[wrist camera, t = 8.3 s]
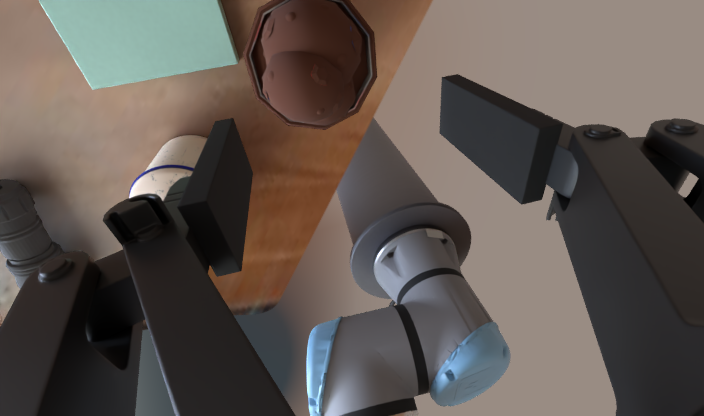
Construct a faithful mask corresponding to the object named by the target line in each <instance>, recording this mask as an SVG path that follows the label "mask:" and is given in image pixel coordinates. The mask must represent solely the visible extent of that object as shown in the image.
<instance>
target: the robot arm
mask: <svg viewBox="0 0 704 416" xmlns="http://www.w3.org/2000/svg"><path fill="white" fill-rule="evenodd" d="M440 134H441V135H442V136H444V137H445V138H446V139H447V140H448V141H449V142H450V143H451V144H453V145H454V146H455V147H456V148H457V149H458V150H459V151H461V152H462V153H463V154H464V155H465V156H466V157H468V158H469V159H470V160H471V161H472V162H473V163H474V164H476V165H477V166H478V167H479V168H480V169H481V170H482V171H484V172H485V173H486V174H487V175H488V176H489V177H490V178H492V179H493V180H494V181H495V182H496V183H497V184H499V185H500V186H501V187H502V188H503V189H504V190H505V191H507V192H508V193H509V194H510V195H511V196H512V197H513V198H514V199H516V200H517V201H518V202H519V203H521V204H526V203H530V202H534V201H538V200H542V197H543V194H544V190H545V187H546V184H547V185H548V186H550V187H551V188H553V189H554V194H553V197H552V200H551V204H550V207H549V210H548V213H547V218H546V219H547V220H550V219H551V216H552V215H553V214H555V213H556V219H555V220H556V221H558V222H559V225H560V228H561V231H562V234H563V237H564V241H565V243H566V247H567V249H568V253H569V255H570V259H571V262H572V265H573V268H574V271H575V274H576V277H577V280H578V283H579V286H580V289H581V292H582V295H583V299H584V301H585V305H586V308H587V311H588V314H589V317H590V320H591V323H592V326H593V329H594V332H595V335H596V338H597V341H598V344H599V347H600V350H601V353H602V356H603V360H604V362H605V366H606V368H607V372H608V375H609V378H610V381H611V384H612V387H613V390H614V393H615V397H616V404H617V410H616V416H704V125H702V124H699V123H695V122H693V121H690V120H687V119H672V120H660V121H655V122H654V123H652V124H651V126H650V128H649V130H648V133H647V135H646V137H636V138H629V137H628V136H627V135H626V134H625V133H624V132H622V131H621V130H620V129H618V128H614V127H610V126H606V125H599V124H598V125H583V126H579V127H576V128H574V127H572V126H570V125H568V124H565V123H563V122H561V121H559V120H557V119H553V118H552V117H550V116H548V115H545V114H543V113H542V112H539V111H537V110H535V109H531V108H528V107H527V106H524V105H522V104H520V103H518V102H516V101H514V100H512V99H509V98H507V97H505V96H503V95H501V94H499V93H496V92H494V91H492V90H490V89H488V88H486V87H483V86H481V85H479V84H477V83H475V82H473V81H470V80H468V79H466V78H464V77H462V76H460V75H458V74H457V75H452V76H446V77H442V88H441V112H440ZM689 173H692V174H694V175H695V176H697V177H698V178H699V179H698V181H697V183H696V184H695V186H694V187H693V189H692V190H691V192H690V194H689V195H688V196H687V197H686V198H685V197H682V196H681V195H680V194H678V191H679V190H680V188H681V186H682V185H683V183H684V181H685V180H686V178H687V176H688V175H689ZM252 176H253V171H252V169H251V166H250V163H249V161H248V158H247V155H246V152H245V150H244V147H243V144H242V141H241V139H240V136H239V133H238V130H237V128H236V125H235V122H234V119H233V118H230V119H225V120H220V121H215V123H214V125H213V127H212V130H211V132H210V134H209V136H208V139H207V141H206V143H205V145H204V148H203V150H202V152H201V154H200V157H199V159H198V161H197V163H196V165H195V168H194V170H193V172H192V174H191V176H188V177H183V178H180V179H179V180H178V181H176V182H175V183H174V184H173V185H172V186H171V187H170V189H169V190H168V192H167V194H166V197H165V198H164V200H163V201H162V199H161V197H160V196H158V195H157V194H151V193H147V194H141V195H137V196H134V197H131V198H128V199H126V200H124V201H122V202H120V203H118V204H117V205H115V206H114V207H112V208H111V209H109V211H108V212H107V213H106V214H105V215H104V218H103V222H104V223H105V224H106V225H107V227H108V228H109V229H110V231H111V232H112V233H113V234H114V236H115V237H116V238H117V240H118V241H119V242H120V243H121V245H122V247H123V250H121V251H119V252H117V253H114V254H112V255H109V256H107V257H104V258H102V259H100V260H97V261H95V262H94V261H93V260H92V259H91V258H90V256H89V255H88V254H87V253H85V252H83V251H73V252H70V253H66V254H63V255H60V256H58V257H54V258H52V259H50V260H48V262H44V263H43V264H41V265H40V266H39V267H38V268H37V269H36V270H35V271H34V272H32V273H31V274H30V275H29V277H28V278H27V279H26V280H25V282H24V284H23V285H22V287H21V289H20V291H19V293H18V295H17V297H16V299H15V301H14V302H13V304H12V306H11V308H10V310H9V312H8V314H7V316H6V318H5V319H4V321H3V323H2V325H1V327H0V416H135V408H136V397H137V385H138V374H139V361H140V351H141V340H142V328H143V320H146V323H147V326H148V329H149V333H150V336H151V339H152V342H153V345H154V349H155V351H156V355H157V358H158V361H159V364H160V367H161V371H162V374H163V377H164V380H165V384H166V387H167V390H168V393H169V396H170V400H171V403H172V406H173V409H174V412H175V415H176V416H295V414H294V412H293V411H292V409H291V408H290V406H289V404H288V403H287V401H286V400H285V398H284V396H283V395H282V393H281V391H280V390H279V388H278V387H277V385H276V383H275V382H274V380H273V379H272V377H271V375H270V374H269V372H268V371H267V369H266V368H265V366H264V364H263V363H262V361H261V359H260V358H259V356H258V354H257V353H256V351H255V350H254V348H253V346H252V345H251V343H250V342H249V340H248V338H247V337H246V335H245V334H244V332H243V331H242V329H241V327H240V325H239V324H238V322H237V321H236V319H235V318H234V316H233V314H232V313H231V311H230V309H229V308H228V306H227V304H226V303H225V301H224V300H223V298H222V296H221V295H220V293H219V292H218V290H217V288H216V287H215V285H214V284H213V282H212V280H211V279H210V277H209V275H208V270H209V266H211V267H212V269H213V271H214V272H215V274H216V276H217V277H218V276H222V275H226V274H231V273H235V272H239V271H241V269H242V261H243V252H244V244H245V235H246V227H247V218H248V210H249V201H250V193H251V184H252ZM372 267H373V271H374V274H375V277H376V280H377V281H378V283H379V284H380V286H381V287H382V288H383V289H384V290H385V291H386V292H387V293H388V295H389V296H390V297H391V298H392V299H393V300H392V301H391V303H390V305H389V307H386V308H382V309H378V310H374V311H369V312H365V313H360V314H356V315H352V316H348V317H339V318H338V319H335V320H332V321H329V322H325V323H322V324H319V325H317V326H316V327H315V328H314V329H313V330H312V332H311V334H310V337H309V341H308V349H307V392H308V397H309V411H310V415H311V416H417V415H418V411H417V407H416V404H415V400H414V397H415V396H418V395H421V394H425V393H430V395H431V397H432V399H433V400H434V401H435V402H436V403H437V404H438V405H440V406H447V405H448V406H454V405H458V404H461V403H464V402H466V401H468V400H471V399H472V398H474V397H476V396H478V395H479V394H481V393H483V392H484V391H486V390H487V389H488V388H490V387H491V386H492V385H493V384H494V383H496V382H497V381H498V380H499V379H500V377H501V376H502V375H503V374H504V373H505V371H506V370H507V368H508V365H509V362H510V350H509V347H508V345H507V344H506V342H505V340H504V338H503V336H502V335H501V333H500V331H499V329H498V326H497V324H496V323H495V322H493V320H492V319H491V317H490V316H489V314H488V313H487V311H486V310H485V308H484V307H483V305H482V304H481V303H480V301H479V299H478V298H477V296H476V295H475V293H474V292H473V290H472V289H471V287H470V286H469V284H468V283H467V281H466V280H465V278H464V277H463V275H462V274H461V271H460V265H459V261H458V256H457V251H456V248H455V245H454V242H453V241H452V239H451V238H450V236H449V235H448V234H447V233H446V232H445V231H444V230H443V229H441V228H439V227H437V226H433V225H425V224H424V225H414V226H410V227H407V228H404V229H401V230H399V231H397V232H395V233H394V234H392V235H391V236H389V237H388V238H387V239H386V240H385V241H384V242H383V243H382V244H381V245H380V246H379V248H378V249H377V251H376V252H375V255H374V257H373V262H372ZM395 303H396V304H397V305H396V306H394V304H395Z"/></svg>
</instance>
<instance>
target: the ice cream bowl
mask: <svg viewBox="0 0 704 416" xmlns="http://www.w3.org/2000/svg"><path fill="white" fill-rule="evenodd" d="M243 56H244V59H245V63H246V66H247V69H248V73H249V76H250V79H251V83H252V86H253V90H254V93H255V96H256V99H257V100H258V101H260V102H261V103H262V104H263V105H264V106H265V107H267V108H268V109H269V110H270V111H271V112H273V113H274V114H275V115H276V116H277V117H278V118H280V119H281V120H282V121H283V122H284V123H285V124H287V125H288V126H296V127H305V128H314V129H323V130H326V129H328V128H330V127H331V126H333V125H335V124H337V123H339V122H341V121H343V120H344V119H346V118H348V117H350V116H352V115H354V114H356V113H358V111H359V110H360V108H361V106H362V104H363V102H364V100H365V98H366V97H367V95H368V93H369V91H370V89H371V87H372V85H373V84H374V82H375V80H376V78H377V68H376V53H375V38H374V32H373V30H372V29H371V28H370V26H369V25H368V24H367V23H366V21H365V20H364V19H363V17H362V16H361V15H360V13H359V12H358V11H357V10H356V8H355V7H354V6H353V4H352V3H351V2H350V0H272V1H270V2H268V3H267V4H265V5H263V6H261V7H260V8H258V11H257V14H256V17H255V20H254V23H253V26H252V29H251V32H250V35H249V38H248V41H247V44H246V47H245V50H244V53H243Z"/></svg>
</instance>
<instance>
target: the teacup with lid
mask: <svg viewBox="0 0 704 416" xmlns="http://www.w3.org/2000/svg"><path fill="white" fill-rule="evenodd" d="M207 139H208V138H205V137H201V136H195V135H185V136H179V137H176V138H174V139H171V140H170V141H168V142H167V143H166V144H165V145H164V146H163V147H162V148H161V149H160V151H159V152H158V154H157V155H156V156H155V158H154V159H153V161H152V162H151V164H150V165H149V166H148V168H147V169H146V171H145V172H143V173H142V174H141V175H139V176H138V177H137V178H136V180H135V181H134V182H133V184H132V186H131V189H130V193H129V198H131V197H134V196H137V195H141V194H147V193H151V194H157V195H158V196H160V197H161V199H162V201H163V200H164V198H165V197H166V194H167V192H168V190H169V189H170V187H171V186H172V185H173V184H174V183H175V182H176V181H178V180H179V179H180V178H183V177H188V176H191V174H192V172H193V170H194V168H195V165H196V163H197V161H198V159H199V157H200V154H201V152H202V150H203V148H204V145H205V143H206V141H207Z"/></svg>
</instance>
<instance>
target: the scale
mask: <svg viewBox="0 0 704 416" xmlns="http://www.w3.org/2000/svg"><path fill="white" fill-rule="evenodd" d="M39 2H40V4H41V5H42V7H43V9H44V10H45V12H46V13H47V15H48V17H49V18H50V20H51V22H52V23H53V25H54V27H55V28H56V30H57V32H58V33H59V35H60V37H61V38H62V40H63V41H64V43H65V45H66V46H67V48H68V50H69V51H70V53H71V55H72V56H73V58H74V60H75V61H76V63H77V65H78V66H79V68H80V70H81V71H82V73H83V74H84V76H85V78H86V79H87V81H88V83H89V84H90V86H91V88H92V89H93V90H94V89H100V88H105V87H111V86H116V85H122V84H128V83H133V82H139V81H144V80H150V79H155V78H161V77H167V76H172V75H178V74H183V73H189V72H194V71H200V70H206V69H211V68H217V67H222V66H228V65H233V64H238V62H239V57H238V54H237V51H236V48H235V44H234V41H233V38H232V35H231V32H230V29H229V25H228V22H227V19H226V16H225V13H224V10H223V6H222V3H221V0H39Z"/></svg>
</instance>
